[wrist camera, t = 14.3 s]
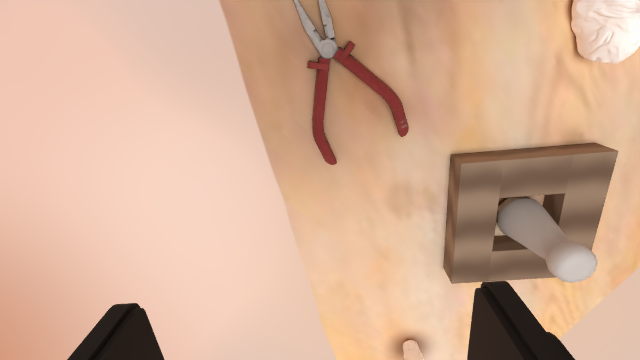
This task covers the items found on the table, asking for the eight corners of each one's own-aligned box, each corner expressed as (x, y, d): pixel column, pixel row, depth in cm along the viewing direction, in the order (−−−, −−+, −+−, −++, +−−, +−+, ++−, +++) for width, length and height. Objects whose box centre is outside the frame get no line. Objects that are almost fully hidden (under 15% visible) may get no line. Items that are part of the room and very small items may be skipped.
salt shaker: (491, 231, 46) (549, 296, 34) (488, 196, 44) (549, 253, 32) (533, 222, 45) (608, 286, 33) (533, 186, 43) (612, 240, 31)
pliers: (351, -41, 34) (353, -47, 32) (409, 130, 41) (414, 135, 39) (256, 8, 36) (251, 5, 34) (326, 163, 43) (326, 170, 41)
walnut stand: (450, 154, 42) (461, 163, 38) (595, 142, 41) (618, 151, 37) (443, 267, 49) (451, 283, 45) (567, 260, 48) (584, 275, 44)
